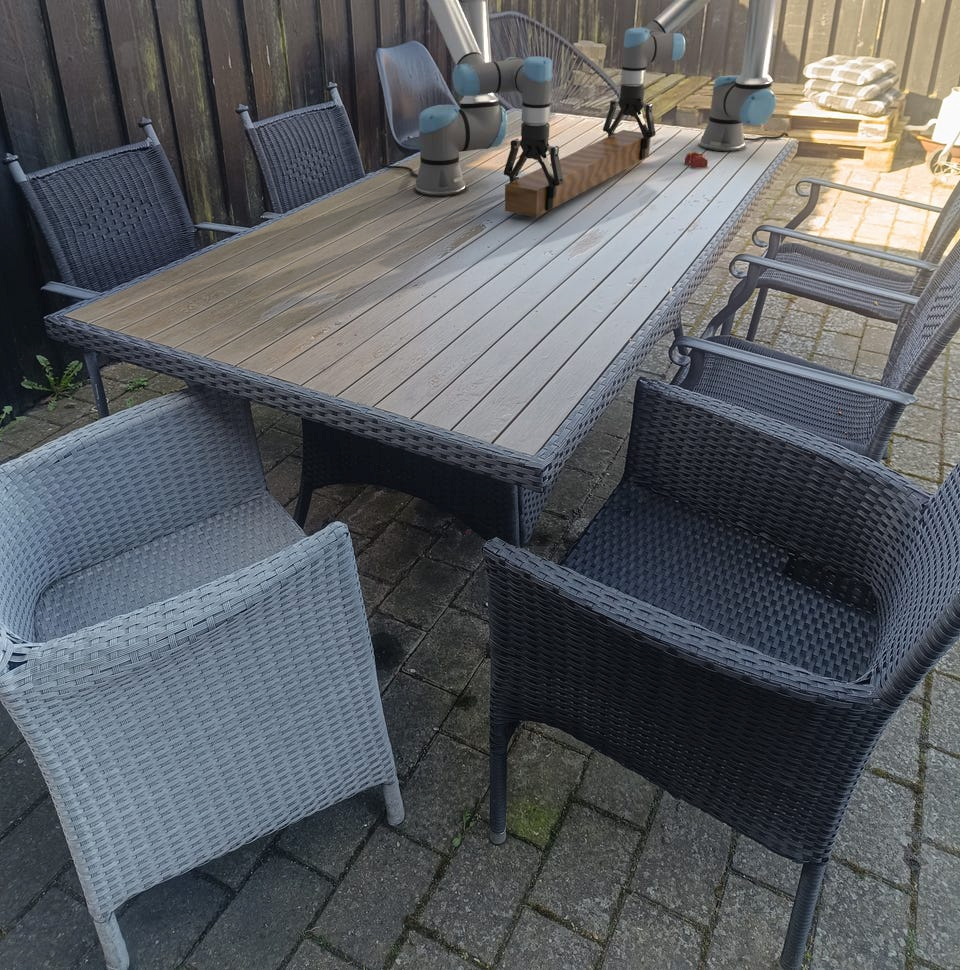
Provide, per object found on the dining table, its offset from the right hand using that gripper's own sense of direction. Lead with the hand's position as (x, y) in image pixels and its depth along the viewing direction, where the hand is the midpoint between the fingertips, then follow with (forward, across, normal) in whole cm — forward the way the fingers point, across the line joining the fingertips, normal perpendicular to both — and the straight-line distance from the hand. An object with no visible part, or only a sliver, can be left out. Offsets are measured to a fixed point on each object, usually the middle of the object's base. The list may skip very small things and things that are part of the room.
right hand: (626, 156), depth 279 cm
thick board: (0, 0, +31) cm, 31 cm away
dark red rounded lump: (+3, -20, -12) cm, 23 cm away
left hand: (-1, +1, +62) cm, 62 cm away
